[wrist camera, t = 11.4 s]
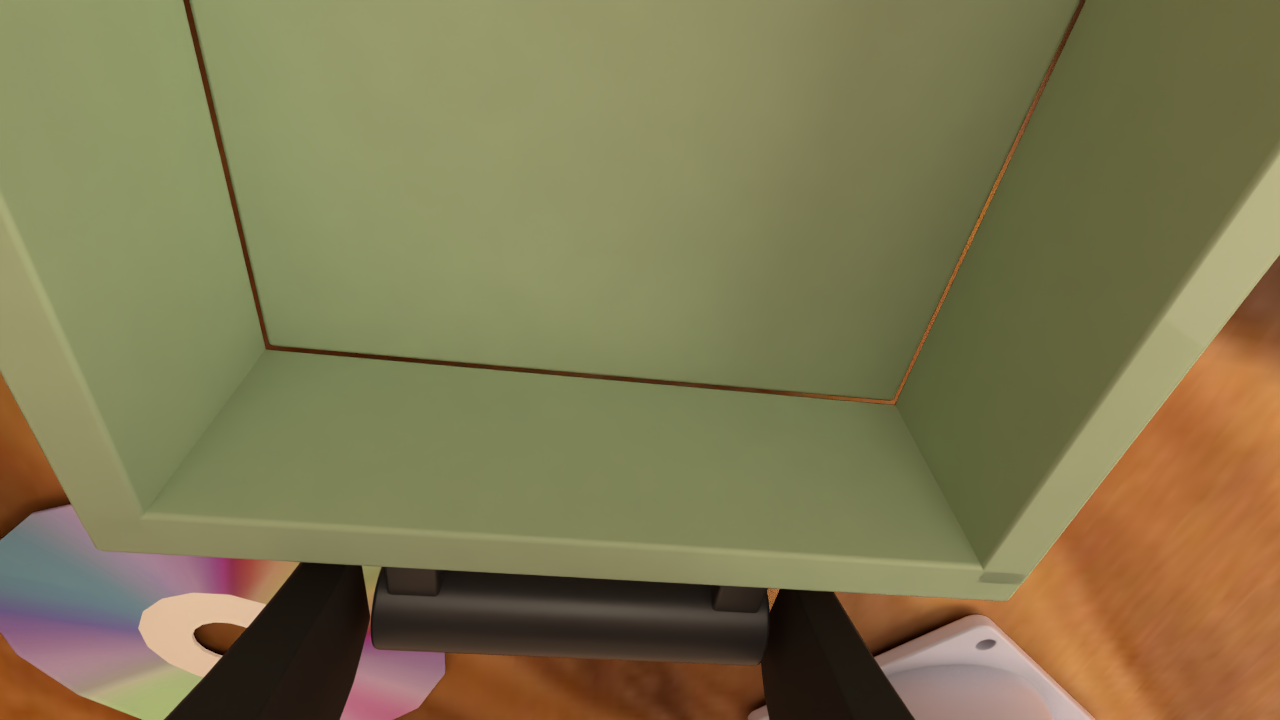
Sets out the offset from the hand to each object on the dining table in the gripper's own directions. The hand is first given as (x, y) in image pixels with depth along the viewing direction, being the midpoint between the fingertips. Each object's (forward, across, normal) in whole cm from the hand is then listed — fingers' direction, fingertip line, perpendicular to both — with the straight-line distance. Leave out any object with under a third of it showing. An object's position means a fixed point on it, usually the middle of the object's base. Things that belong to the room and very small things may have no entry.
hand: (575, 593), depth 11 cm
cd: (+3, +9, +8) cm, 12 cm away
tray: (+3, 0, -6) cm, 6 cm away
